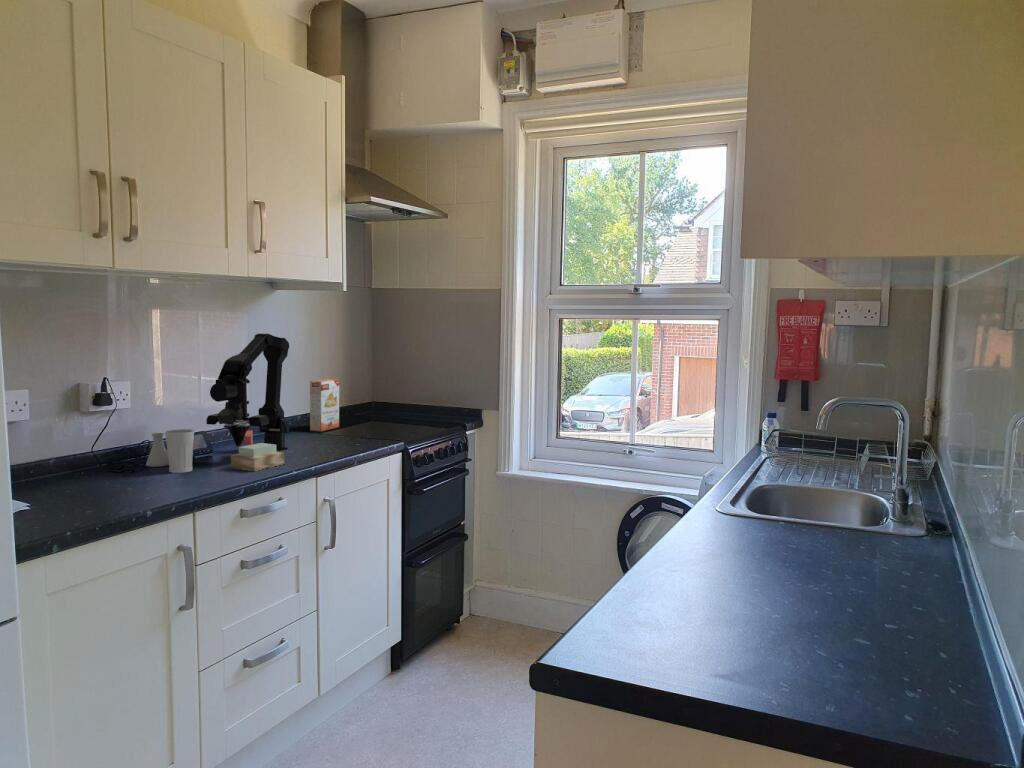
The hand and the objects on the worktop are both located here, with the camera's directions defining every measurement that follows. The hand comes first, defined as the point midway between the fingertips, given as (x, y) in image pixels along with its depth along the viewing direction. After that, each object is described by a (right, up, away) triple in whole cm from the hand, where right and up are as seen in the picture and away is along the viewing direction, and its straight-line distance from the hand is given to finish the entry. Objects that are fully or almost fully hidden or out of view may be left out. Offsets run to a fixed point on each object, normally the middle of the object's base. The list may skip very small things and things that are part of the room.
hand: (238, 446), depth 227 cm
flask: (-22, -6, -7) cm, 24 cm away
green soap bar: (+9, -2, -8) cm, 12 cm away
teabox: (+9, -6, -7) cm, 13 cm away
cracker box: (+9, +1, +70) cm, 71 cm away
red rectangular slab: (+1, -4, +6) cm, 7 cm away
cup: (-12, -6, -14) cm, 20 cm away
